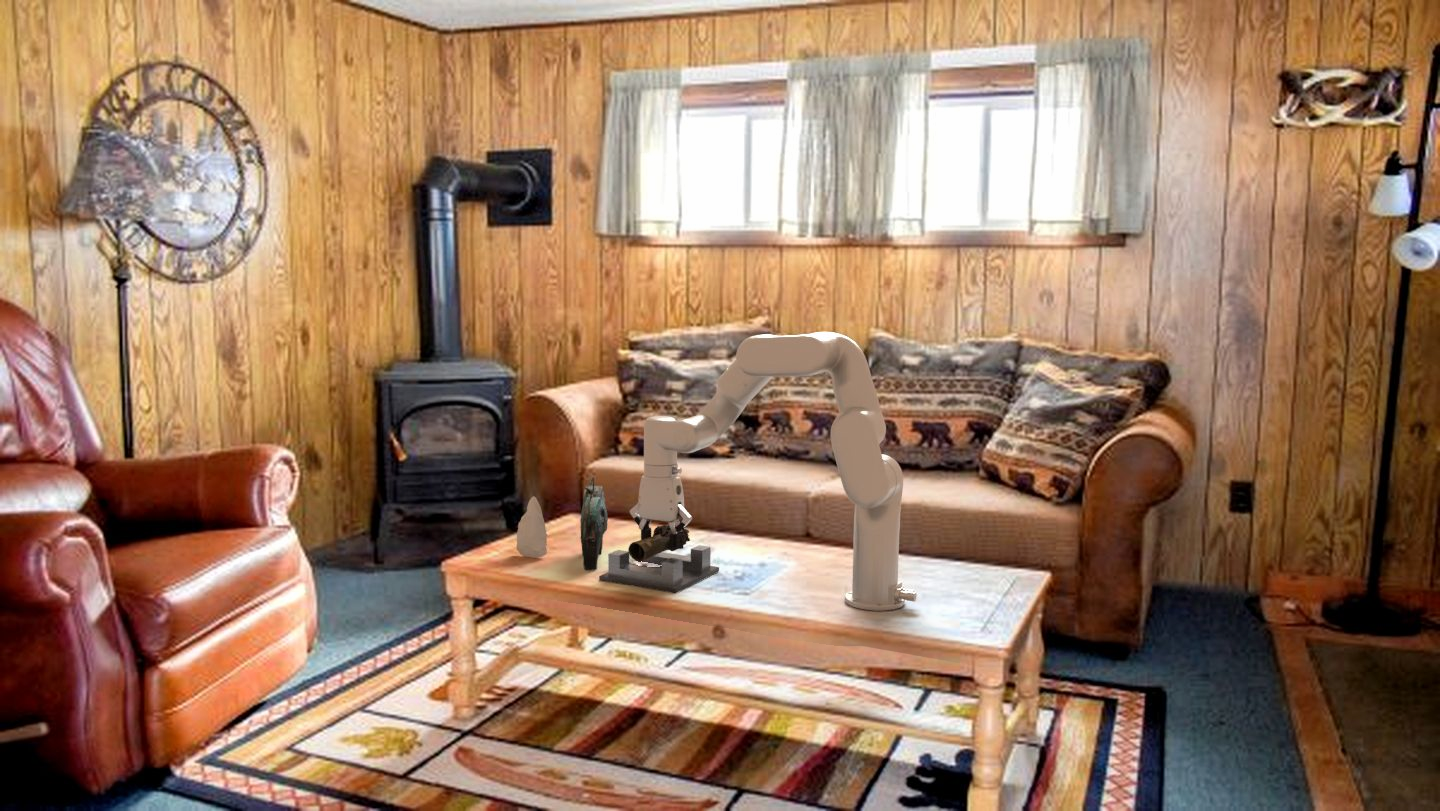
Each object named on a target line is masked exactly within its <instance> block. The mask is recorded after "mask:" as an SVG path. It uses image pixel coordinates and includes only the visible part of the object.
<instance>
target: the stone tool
mask: <svg viewBox="0 0 1440 811" xmlns="http://www.w3.org/2000/svg"><path fill="white" fill-rule="evenodd" d="M543 516H544V515H543V511H542V508H541V506H540V503H539V501H538V499H537V497H536V496H534V495H533V496H532V497H530V499H529V501H528V503H527V507H526V512H525V513H524V514H523V515H522V516H521V518H520V521H518V524H517V528H518V529H517V533H516V551H517V552H518V553H519V555H520V556H523V557H525V558H532V559H534V558H535V559H536V558H541V557H544V556H546V555H547V553H548V551H547V545H548V544H547V537H548V534H547V528H546V524H545V520H544V517H543Z"/></svg>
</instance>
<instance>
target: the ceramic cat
mask: <svg viewBox="0 0 1440 811" xmlns="http://www.w3.org/2000/svg"><path fill="white" fill-rule="evenodd" d="M588 481H589V484H588V485H587V486H585V487H584V489H583V495H582V497H583V498H582V499H583V500H582V509H581V513H580V543H581V553H582V554H581V555H582V562H583V563H582V565H583V569H584V571H596V570H597V569H598V561H599V556H600V555H601V554H602V552H603V545H604V543H603V540H604V538H603V537H604V534H605V533H606V532H607V529H608V520H609V518H608V511H607V507H606V506H607V505H606V499H605V492H604V487H603V485H595V478H594V477H593V476H590V478H589V480H588Z"/></svg>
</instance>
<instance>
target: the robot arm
mask: <svg viewBox="0 0 1440 811" xmlns="http://www.w3.org/2000/svg"><path fill="white" fill-rule="evenodd" d="M735 358H736V359H735V360H734V361H733V362H732V363H731V364H730V365H729V366H728V367H727V368H726V369H725V370H724V372H723V373H722V374H721V375H720V376H719V377H718V378H717V381H716V385H717V390H716V393H715V394H714V395H713V397H712V398H711V399H710V400H709V402H708V403H706V405H705V406H704V407H703V408H702V409H701V410H700V411H699V412H698V413H697V414H696V415H693V416H691V417H687V418H684V419H679V420H676V419H675V417H671V416H666V415H655V416H654V415H653V416H649V417H647V418H646V419H645V420H644V422H643V475H642V476H641V479H640V482H639V483H640V484H639V489H638V499H637V500H638V502H637V504H635V505H634V506H633V507H631V509H630V510H629V514H630V516H631V517H632V518H633V519H634V523H636V525H638V529H639V530H640V540H643V539H646V538H649V537H652V527H650V525H651V522H652V521H656V522H664V523H668V524H667V525H669V526H670V529H671V531H672V534H670V550H669V551H670V552H675V551H677V550H680V549H679V546H680V532H682V530H683V529H686V527H687V526H688V525H689V523H690V522H691V521H692V520H693V516H692V515H691V514H690V513H689V512H688V511H687V510H686V508H685V498H684V495H685V494H684V488H683V483H682V479H681V476H678V475H681V474H682V472H683V471H682V470H683V469H682V468H681V467H679V466H678V453H681V454H692V453H695V452H697V451H700V450H702V449H705V448H709V446H711V445H713V444H714V443H716V441H717V440H718V439H720V438H721V437H722V435H724V433H725V432H727V431H728V430H729V429H730V427H731V426H732V425H733V424H734V423H735V422H736V420H737V419H738V418H739V416H740V415H741V414H742V413H743V411H744V410H745V408H746V406H747V405H748V404H749V403H750V402H751V401H752V400H753V399H754V398H755V396H756V395H757V394H758V393H759V392H760V391H761V390H762V389H763V388H764V387H765V386H766V385H767V384H768V383H769V382H770V381H771V380H773V378H775V377H777V378H781V377H810V376H815V375H818V374H819V375H820V374H822V373H824V372H825V373H828V374H829V375H830V378H831V382H832V389H833V390H832V391H833V395H834V398H835V401H836V405H837V408H838V415H837V416H836V417H835V419H834V420H833V422H832V425H831V426H830V427H831V428H830V442H831V447H832V451H833V454H834V455H833V456H834V460H835V462H836V466H837V469H838V470H837V471H838V474H839V477H840V481H841V484H842V487H843V491H844V493H845V495H846V497H847V498H848V499H849V501H850V502H851V503H853V504H854V516H853V542H852V543H853V547H852V548H853V551H852V553H853V554H852V583H851V584H852V586H851V590H850V591H848V592H846V593H845V595H844V602H845V603H846V604H847V605H849V606H850V607H854V608H855V609H856V608H857V609H860V610H866V611H874V612H875V611H879V612H881V611H883V612H884V611H893V610H896V609H900V608H902V607H903V606H905V602H906V601H908V602H916V601H917V598H918V597H917V596H918V595H917V592H915V590H914V589H910V588H904V587H903V581H901V580H899V554H900V552H899V550H900V532H901V531H900V526H901V525H900V524H901V523H900V522H901V510H902V509H901V508H902V506H901V505H902V500H903V499H902V497H903V492H904V491H903V489H904V476H903V471H902V468H901V466H900V464H899V463H898V462H897V461H896V460H895V459H894V458H893V457H891V456H889V455H887V454H882V451H881V448H880V447H881V446H880V444H881V443H882V442H883V441H884V439H885V437H886V433H887V426H886V421H885V419H884V415H883V412H882V408H881V405H880V401H879V397H878V394H877V389H876V387H875V385H874V381H873V377H872V373H871V370H870V366H869V364H868V361H867V357H866V355H865V354H864V352H863V350H862V349H861V347H860V346H859V345H858V344H857V343H856V342H855V341H854V340H852V339H851V338H849V337H848V336H846V335H843V334H841V333H836V332H831V331H816V332H812V333H808V334H807V333H806V334H797V335H795V334H793V335H791V334H790V335H774V334H771V333H765V334H757V335H752V336H749V337H747V338H745V339H744V340H743V341H741V343H740V344H739V346H738V347H737V350H736V354H735ZM681 519H682V520H681ZM680 520H681V522H680ZM905 600H906V601H905Z"/></svg>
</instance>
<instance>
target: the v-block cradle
mask: <svg viewBox="0 0 1440 811" xmlns="http://www.w3.org/2000/svg"><path fill="white" fill-rule="evenodd" d="M711 550H712V549H711V546H708V545H707V546H706V545H701V544H698V545H696V546H694V547H692V548H690V555H683V554H677V553H669V552H665V551H663V552H661V553H659V554H656V555H654V556H652V557H650V558H647V559H645V560H643V561H642V562H648V563H654V564H658V565H662V566H660V567H647V566H638V565H633V564H631V562H630V554H629V551H628V550H627V551H626V550H622V549H617V550H615V551H612V552H609V553H608V556H607V557H608V558H607V559H608V561H607V562H608V563H607V564H608V565H607V566H608V567H607V568H608V572H606V573H603V574H600V575H599V576H598V577H599V578H598V579H599V581H601V582H608V583H613V584H618V585H623V586H624V585H625V586H629V587H630V586H631V587H636V588H642V589H643V588H644V589H649V590H654V591H660V592H666V591H667V592H668V593H672V594H678V593H680V592H681V591H683V590H685V589H687V588H689V587H691V586H693V585H695V584H697V583H699V582H701V581H702V579H703V580H705V579H706V577H707V578H708V576H709V577H711V576H712V574H713V575H714V573H715V574H717V573H719V572H720V566H715V565H714V566H713V565H711ZM718 571H719V572H718ZM716 572H717V573H716ZM710 575H711V576H710ZM704 578H705V579H704ZM700 580H701V581H700ZM667 592H666V593H667Z"/></svg>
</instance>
